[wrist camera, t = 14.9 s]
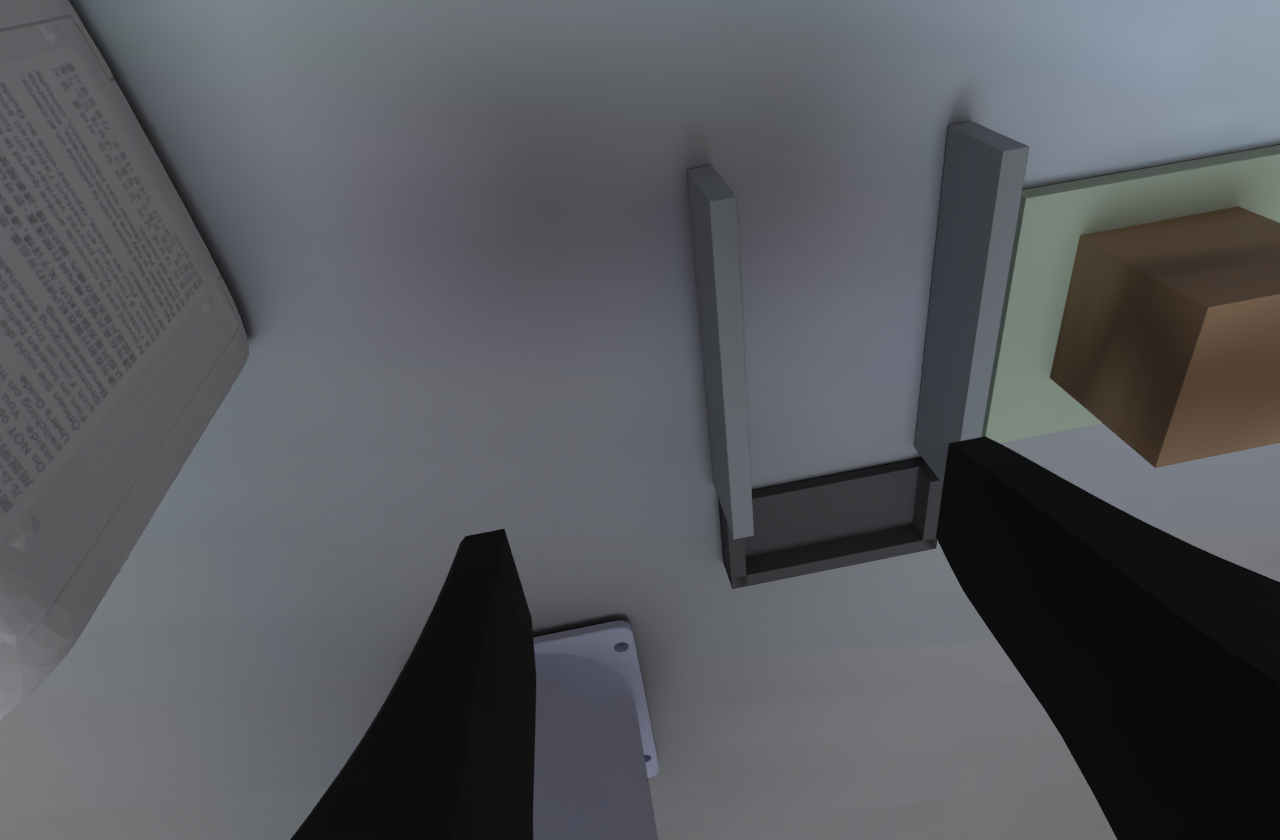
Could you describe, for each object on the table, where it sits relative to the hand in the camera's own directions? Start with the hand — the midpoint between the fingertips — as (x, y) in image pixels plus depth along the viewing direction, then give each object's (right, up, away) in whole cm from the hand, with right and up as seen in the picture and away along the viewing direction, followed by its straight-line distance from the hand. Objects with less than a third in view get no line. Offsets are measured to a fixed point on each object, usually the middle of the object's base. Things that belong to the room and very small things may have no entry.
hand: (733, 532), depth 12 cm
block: (+13, +5, +9) cm, 17 cm away
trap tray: (+5, -1, +13) cm, 14 cm away
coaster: (+13, +5, +10) cm, 17 cm away
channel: (+4, +4, +9) cm, 11 cm away
